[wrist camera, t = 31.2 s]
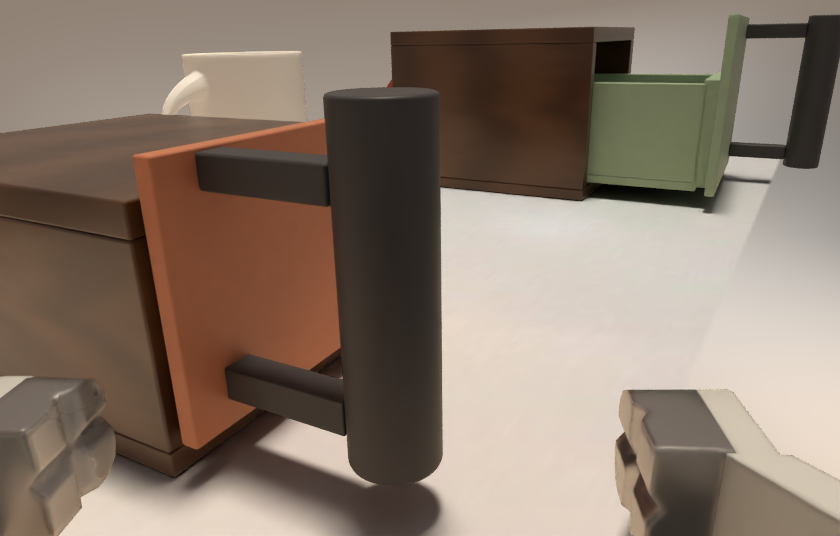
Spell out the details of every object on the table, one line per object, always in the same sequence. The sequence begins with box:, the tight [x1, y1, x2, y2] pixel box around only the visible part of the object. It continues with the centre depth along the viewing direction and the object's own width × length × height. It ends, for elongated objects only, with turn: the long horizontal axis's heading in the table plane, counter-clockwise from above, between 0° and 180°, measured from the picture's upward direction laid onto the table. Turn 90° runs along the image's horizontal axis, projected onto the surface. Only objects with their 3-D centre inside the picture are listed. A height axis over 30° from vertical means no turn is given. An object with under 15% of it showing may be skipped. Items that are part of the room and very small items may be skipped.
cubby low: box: [0, 114, 341, 477], centre depth 26 cm, size 16×14×8 cm
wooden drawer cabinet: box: [391, 27, 635, 201], centre depth 54 cm, size 16×14×12 cm
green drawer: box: [587, 14, 840, 197], centre depth 48 cm, size 22×14×11 cm, turn 62°
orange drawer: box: [132, 87, 443, 486], centre depth 23 cm, size 22×14×9 cm, turn 62°
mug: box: [162, 51, 307, 122], centre depth 47 cm, size 9×12×11 cm
